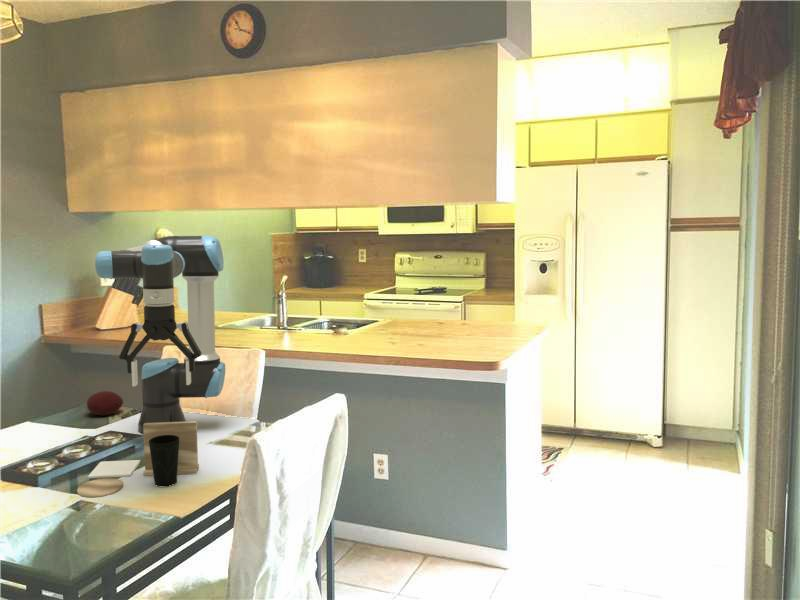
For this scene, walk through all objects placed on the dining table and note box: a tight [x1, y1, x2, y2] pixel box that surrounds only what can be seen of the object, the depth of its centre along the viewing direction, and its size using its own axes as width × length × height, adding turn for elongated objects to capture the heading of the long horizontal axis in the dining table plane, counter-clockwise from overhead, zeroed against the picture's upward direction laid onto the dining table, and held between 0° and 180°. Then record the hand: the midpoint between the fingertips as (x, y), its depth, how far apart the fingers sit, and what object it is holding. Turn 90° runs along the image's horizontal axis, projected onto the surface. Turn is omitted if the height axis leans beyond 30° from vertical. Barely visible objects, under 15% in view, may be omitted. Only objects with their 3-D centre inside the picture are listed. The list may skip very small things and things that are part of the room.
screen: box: [143, 420, 200, 477], centre depth 183 cm, size 5×14×14 cm, turn 98°
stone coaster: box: [87, 459, 141, 479], centre depth 184 cm, size 11×11×1 cm
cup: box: [149, 435, 179, 487], centre depth 175 cm, size 8×8×12 cm
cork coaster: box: [76, 477, 124, 498], centre depth 171 cm, size 11×11×1 cm
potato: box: [86, 390, 124, 417], centre depth 236 cm, size 12×11×8 cm
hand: (162, 384), depth 172 cm, fingers open, 13 cm apart
